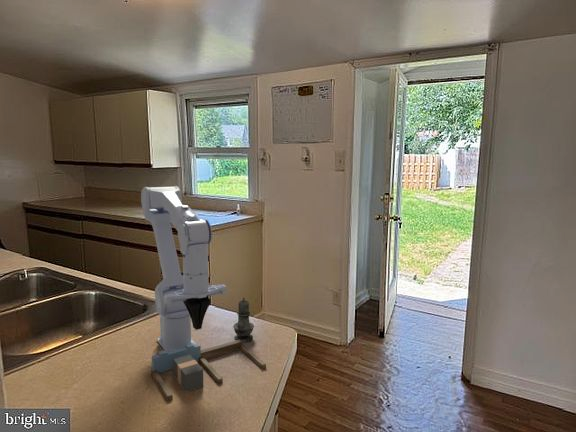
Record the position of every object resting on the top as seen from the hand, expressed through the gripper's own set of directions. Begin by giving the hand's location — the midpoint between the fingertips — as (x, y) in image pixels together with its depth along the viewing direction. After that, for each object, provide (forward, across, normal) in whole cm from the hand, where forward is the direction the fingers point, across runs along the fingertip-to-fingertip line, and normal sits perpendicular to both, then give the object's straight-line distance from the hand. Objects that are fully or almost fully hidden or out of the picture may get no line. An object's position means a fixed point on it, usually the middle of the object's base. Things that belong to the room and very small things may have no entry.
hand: (197, 327), depth 93 cm
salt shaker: (+10, +17, +9) cm, 22 cm away
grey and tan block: (+10, -4, -3) cm, 12 cm away
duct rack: (+10, +2, -2) cm, 11 cm away
